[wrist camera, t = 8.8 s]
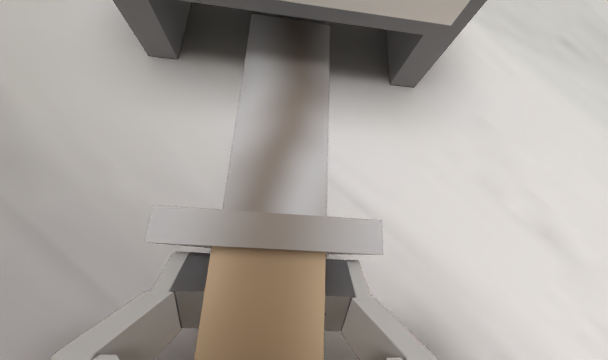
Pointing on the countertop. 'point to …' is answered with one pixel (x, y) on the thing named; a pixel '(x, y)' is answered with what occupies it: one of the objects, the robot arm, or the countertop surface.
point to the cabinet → (326, 7)
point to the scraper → (271, 207)
